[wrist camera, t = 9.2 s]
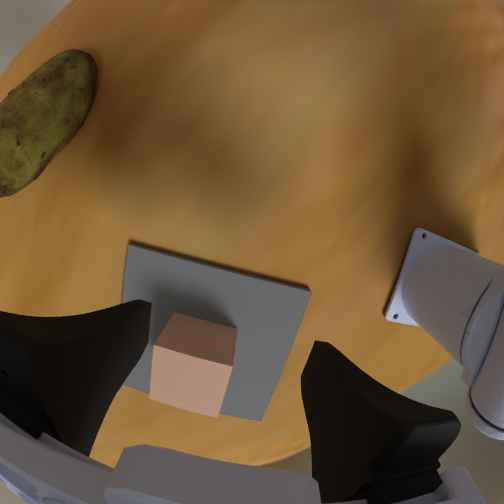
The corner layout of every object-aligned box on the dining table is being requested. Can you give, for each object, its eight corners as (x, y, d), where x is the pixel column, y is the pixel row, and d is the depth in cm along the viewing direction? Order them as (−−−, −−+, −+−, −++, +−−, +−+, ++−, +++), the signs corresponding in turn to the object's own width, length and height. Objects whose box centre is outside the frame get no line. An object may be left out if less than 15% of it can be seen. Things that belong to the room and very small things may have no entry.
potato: (131, 109, 18) (74, 76, 10) (36, 208, 19) (-27, 219, 11) (96, 52, 16) (46, 15, 8) (11, 145, 18) (-44, 142, 10)
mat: (309, 289, 20) (311, 292, 20) (260, 417, 23) (260, 421, 23) (131, 243, 20) (128, 244, 19) (122, 379, 23) (120, 383, 22)
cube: (237, 328, 20) (233, 366, 16) (224, 377, 22) (217, 417, 17) (174, 311, 20) (153, 344, 15) (167, 361, 21) (149, 398, 16)
